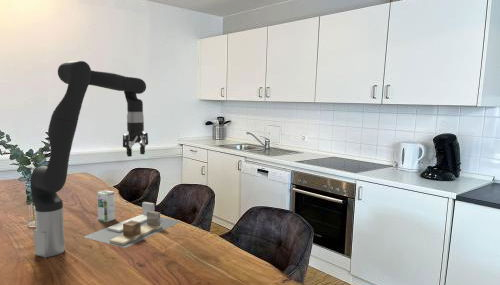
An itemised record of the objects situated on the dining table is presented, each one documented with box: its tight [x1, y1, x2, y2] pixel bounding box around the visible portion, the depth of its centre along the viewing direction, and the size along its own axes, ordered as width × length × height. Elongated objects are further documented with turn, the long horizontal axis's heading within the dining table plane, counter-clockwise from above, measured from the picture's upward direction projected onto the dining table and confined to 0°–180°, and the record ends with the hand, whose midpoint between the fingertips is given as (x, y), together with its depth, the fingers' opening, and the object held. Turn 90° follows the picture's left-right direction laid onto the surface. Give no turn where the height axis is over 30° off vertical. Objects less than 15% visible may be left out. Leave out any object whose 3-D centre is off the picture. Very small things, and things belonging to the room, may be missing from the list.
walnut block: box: [123, 220, 141, 237], centre depth 156 cm, size 5×5×5 cm
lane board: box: [83, 214, 182, 249], centre depth 167 cm, size 36×24×1 cm, turn 154°
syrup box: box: [96, 190, 116, 223], centre depth 178 cm, size 6×6×14 cm
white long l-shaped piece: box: [108, 201, 156, 232], centre depth 173 cm, size 24×7×7 cm, turn 154°
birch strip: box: [109, 211, 162, 245], centre depth 159 cm, size 24×7×7 cm, turn 154°
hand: (136, 155), depth 177 cm, fingers open, 8 cm apart
